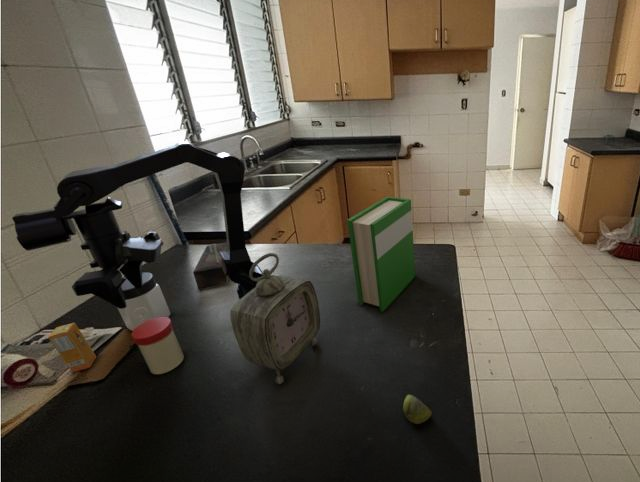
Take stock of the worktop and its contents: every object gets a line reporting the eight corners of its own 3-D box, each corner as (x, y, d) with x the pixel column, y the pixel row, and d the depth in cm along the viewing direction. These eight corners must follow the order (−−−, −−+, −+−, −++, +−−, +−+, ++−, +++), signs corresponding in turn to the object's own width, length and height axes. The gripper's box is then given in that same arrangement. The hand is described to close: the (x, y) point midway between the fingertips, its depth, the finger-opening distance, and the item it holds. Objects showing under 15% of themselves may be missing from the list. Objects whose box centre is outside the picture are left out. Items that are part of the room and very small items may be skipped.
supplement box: (77, 362, 73) (55, 326, 69) (97, 357, 74) (77, 321, 70) (69, 374, 70) (46, 336, 66) (90, 368, 71) (69, 331, 67)
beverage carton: (236, 256, 115) (231, 238, 112) (228, 285, 98) (222, 266, 96) (210, 261, 112) (205, 243, 110) (197, 292, 96) (190, 272, 93)
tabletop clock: (280, 393, 63) (248, 281, 53) (244, 381, 66) (207, 273, 56) (325, 340, 75) (306, 242, 66) (293, 332, 78) (270, 236, 69)
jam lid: (128, 349, 65) (125, 342, 64) (142, 327, 70) (139, 321, 70) (166, 340, 66) (163, 333, 66) (177, 320, 72) (175, 313, 71)
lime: (404, 406, 60) (403, 386, 58) (432, 406, 59) (431, 386, 57) (403, 430, 55) (401, 409, 53) (432, 430, 55) (431, 409, 53)
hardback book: (383, 311, 84) (373, 224, 75) (359, 304, 87) (347, 220, 78) (415, 276, 98) (410, 199, 89) (393, 271, 102) (387, 196, 92)
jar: (125, 338, 79) (104, 296, 74) (129, 319, 85) (110, 280, 81) (170, 323, 84) (153, 282, 79) (171, 306, 90) (155, 268, 85)
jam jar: (187, 349, 75) (174, 317, 71) (179, 369, 70) (164, 336, 66) (156, 356, 73) (141, 324, 70) (145, 377, 68) (128, 344, 64)
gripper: (128, 246, 61) (158, 314, 68) (165, 211, 78) (186, 269, 84) (52, 257, 58) (91, 328, 65) (107, 219, 75) (134, 278, 81)
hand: (131, 297), depth 74 cm, fingers open, 7 cm apart
